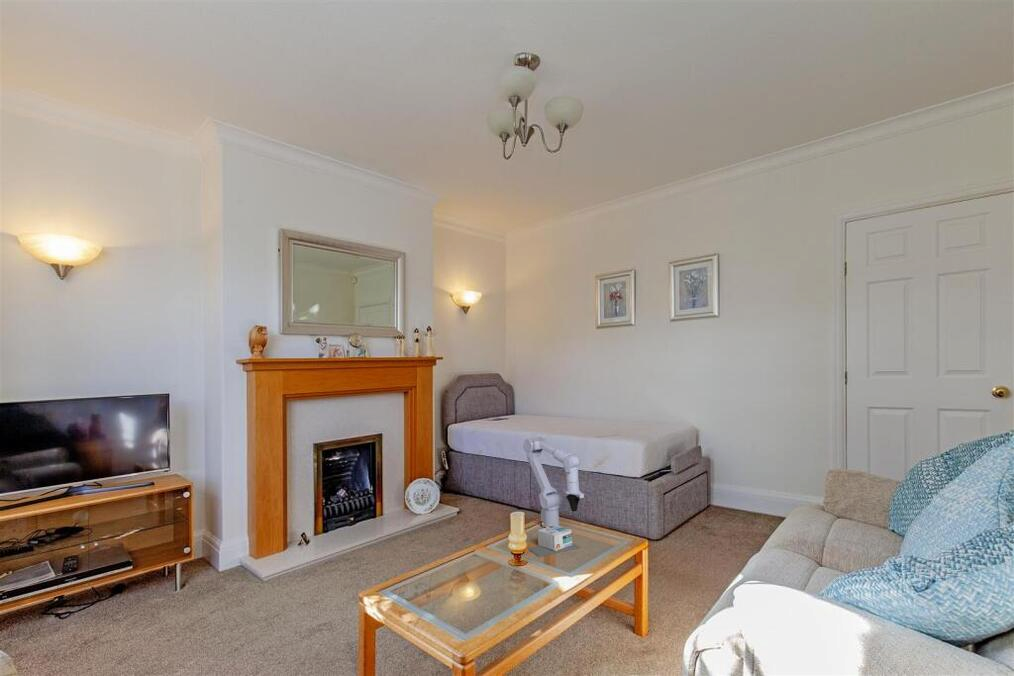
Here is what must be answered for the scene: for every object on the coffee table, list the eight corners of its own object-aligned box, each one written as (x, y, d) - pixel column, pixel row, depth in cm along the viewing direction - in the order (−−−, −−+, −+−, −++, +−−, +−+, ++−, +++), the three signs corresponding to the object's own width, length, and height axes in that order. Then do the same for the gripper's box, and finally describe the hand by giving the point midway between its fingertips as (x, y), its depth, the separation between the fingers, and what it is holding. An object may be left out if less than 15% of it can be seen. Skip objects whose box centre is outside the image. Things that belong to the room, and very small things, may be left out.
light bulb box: (554, 524, 217) (572, 529, 208) (555, 539, 216) (573, 545, 208) (537, 529, 210) (554, 535, 202) (538, 545, 209) (555, 551, 201)
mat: (527, 548, 207) (527, 548, 207) (566, 540, 215) (566, 539, 215) (539, 556, 197) (539, 556, 197) (580, 547, 206) (580, 547, 206)
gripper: (557, 479, 230) (558, 508, 229) (573, 485, 217) (575, 516, 216) (569, 478, 233) (571, 506, 232) (586, 483, 220) (588, 513, 219)
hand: (574, 511), depth 224 cm, fingers closed
